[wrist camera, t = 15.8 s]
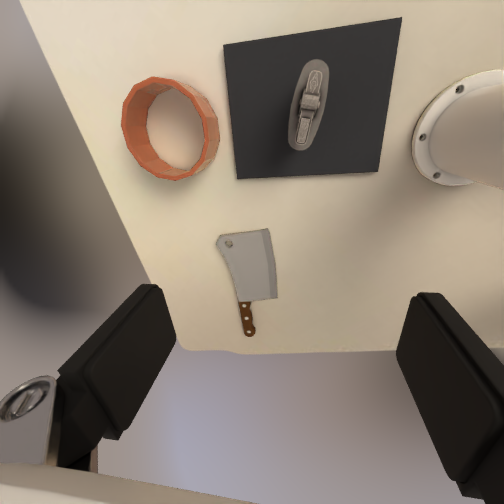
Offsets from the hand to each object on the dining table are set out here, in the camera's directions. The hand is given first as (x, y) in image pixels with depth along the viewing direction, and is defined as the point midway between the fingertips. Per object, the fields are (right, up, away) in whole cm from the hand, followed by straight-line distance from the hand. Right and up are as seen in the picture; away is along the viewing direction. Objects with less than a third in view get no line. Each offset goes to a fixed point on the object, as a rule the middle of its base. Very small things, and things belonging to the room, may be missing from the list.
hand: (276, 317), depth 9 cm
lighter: (+6, +21, +22) cm, 31 cm away
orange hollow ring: (-12, +20, +26) cm, 35 cm away
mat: (+6, +21, +22) cm, 31 cm away
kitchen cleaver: (-1, -4, +37) cm, 38 cm away
